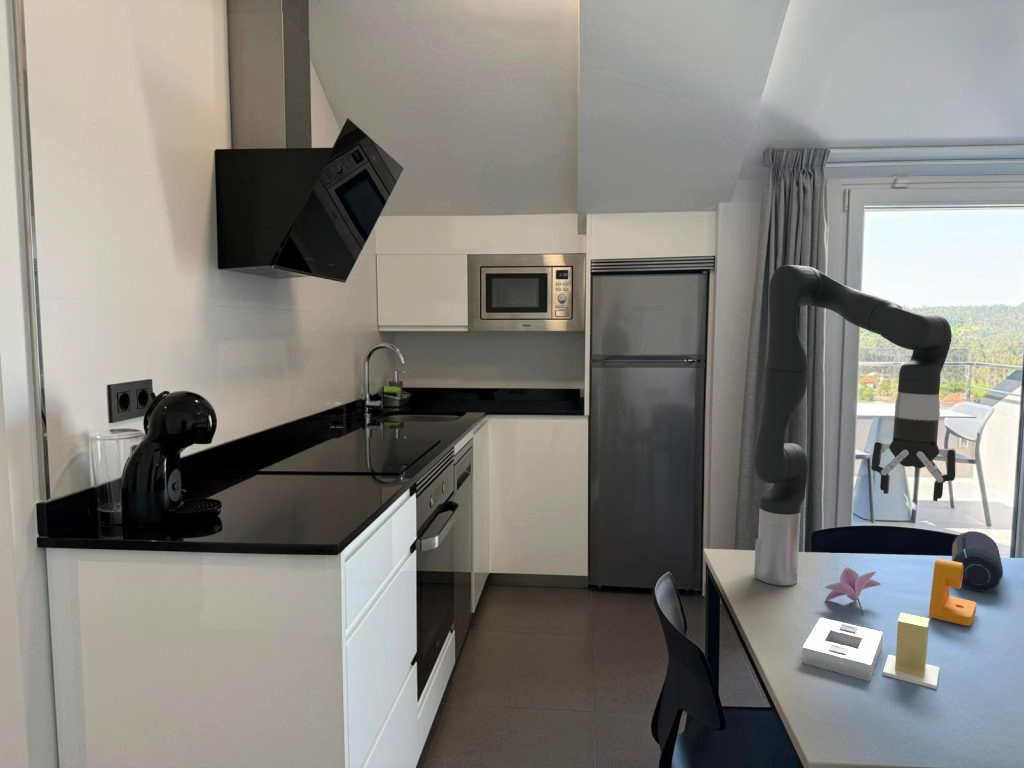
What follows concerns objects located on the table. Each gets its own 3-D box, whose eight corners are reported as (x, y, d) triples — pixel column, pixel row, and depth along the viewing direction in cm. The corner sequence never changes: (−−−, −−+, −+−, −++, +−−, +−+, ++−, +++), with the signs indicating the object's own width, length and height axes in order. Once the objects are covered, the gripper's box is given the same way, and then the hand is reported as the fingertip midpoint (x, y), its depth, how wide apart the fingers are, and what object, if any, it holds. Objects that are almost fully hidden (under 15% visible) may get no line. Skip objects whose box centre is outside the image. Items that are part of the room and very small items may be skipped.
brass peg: (895, 670, 119) (898, 620, 119) (897, 660, 123) (900, 612, 122) (924, 677, 117) (927, 627, 116) (925, 667, 120) (929, 618, 120)
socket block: (801, 662, 123) (802, 645, 122) (819, 631, 136) (820, 616, 136) (869, 681, 116) (870, 663, 116) (881, 647, 129) (882, 631, 129)
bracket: (969, 630, 138) (973, 572, 137) (928, 620, 143) (932, 564, 142) (976, 614, 146) (980, 559, 145) (936, 605, 151) (940, 552, 150)
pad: (882, 674, 119) (882, 671, 119) (888, 657, 125) (888, 654, 125) (936, 689, 114) (936, 685, 114) (939, 670, 121) (939, 667, 121)
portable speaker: (950, 561, 181) (953, 524, 180) (996, 569, 175) (999, 531, 175) (950, 590, 160) (953, 549, 159) (1002, 600, 154) (1005, 557, 154)
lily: (889, 612, 149) (874, 568, 153) (893, 609, 139) (877, 562, 143) (831, 621, 153) (818, 577, 157) (831, 619, 143) (817, 572, 147)
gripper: (873, 414, 135) (867, 494, 136) (958, 421, 126) (951, 506, 128) (878, 410, 141) (873, 487, 142) (960, 417, 132) (953, 499, 134)
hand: (910, 496), depth 135 cm, fingers open, 8 cm apart
